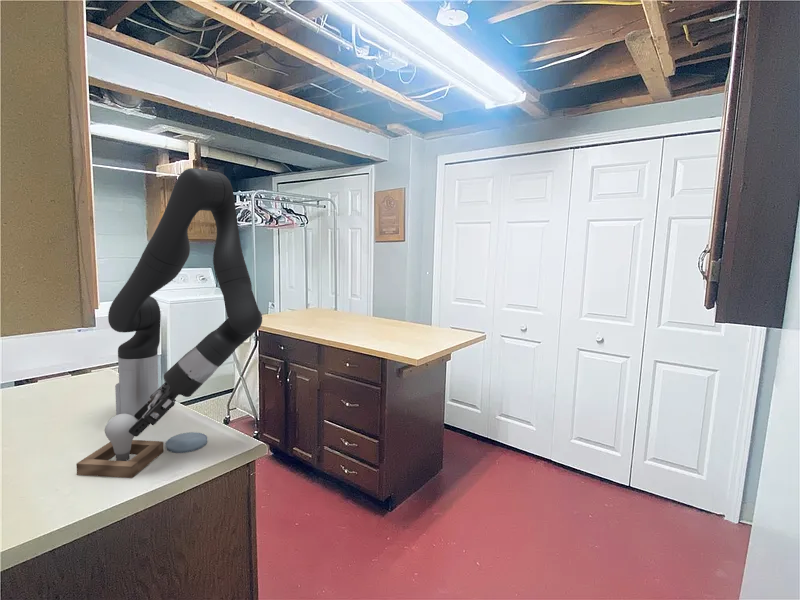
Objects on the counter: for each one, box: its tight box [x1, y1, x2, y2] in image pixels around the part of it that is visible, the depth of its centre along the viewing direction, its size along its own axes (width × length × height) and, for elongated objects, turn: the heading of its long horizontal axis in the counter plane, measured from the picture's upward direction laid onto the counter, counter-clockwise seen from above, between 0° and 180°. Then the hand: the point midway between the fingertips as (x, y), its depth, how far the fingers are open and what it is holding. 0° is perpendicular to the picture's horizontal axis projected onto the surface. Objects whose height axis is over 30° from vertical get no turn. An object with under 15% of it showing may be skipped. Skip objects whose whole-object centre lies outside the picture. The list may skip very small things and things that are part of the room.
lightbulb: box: [104, 414, 137, 461], centre depth 93 cm, size 6×6×11 cm
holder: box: [76, 439, 165, 479], centre depth 94 cm, size 12×12×2 cm
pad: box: [165, 431, 208, 454], centre depth 104 cm, size 9×9×1 cm
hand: (134, 426), depth 94 cm, fingers open, 8 cm apart
